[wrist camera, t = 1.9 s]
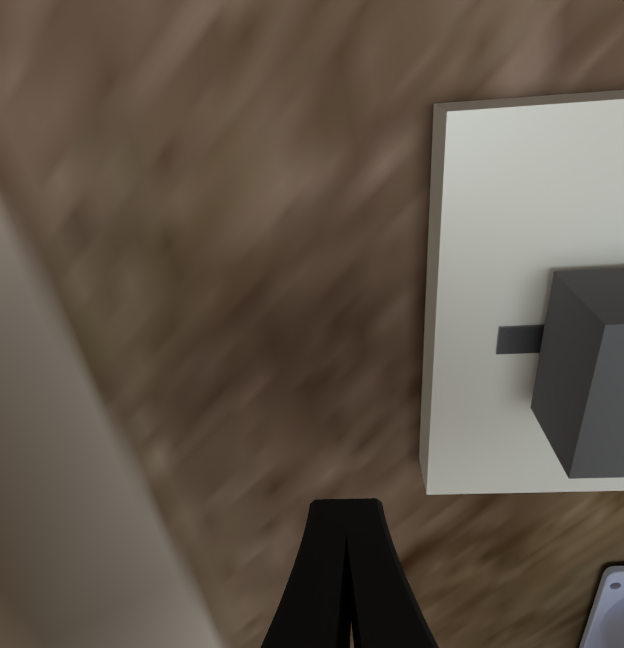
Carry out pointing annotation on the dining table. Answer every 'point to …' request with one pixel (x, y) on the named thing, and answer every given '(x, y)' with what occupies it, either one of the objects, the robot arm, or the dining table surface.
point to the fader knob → (583, 373)
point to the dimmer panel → (509, 276)
